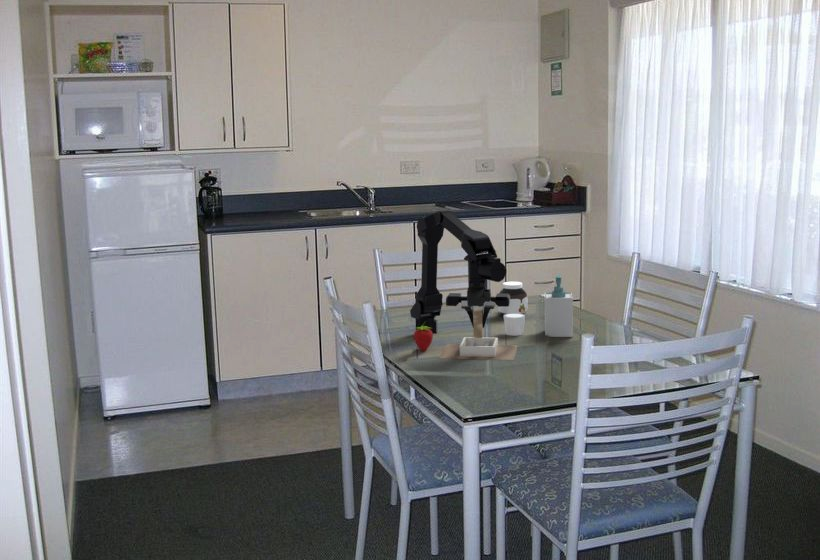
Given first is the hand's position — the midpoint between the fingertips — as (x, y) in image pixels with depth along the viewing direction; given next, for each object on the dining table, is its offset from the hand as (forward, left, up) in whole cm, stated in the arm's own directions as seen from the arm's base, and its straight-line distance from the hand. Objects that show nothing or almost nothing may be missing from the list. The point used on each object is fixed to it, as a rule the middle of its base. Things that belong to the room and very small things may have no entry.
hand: (478, 327), depth 268 cm
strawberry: (-17, +1, -9) cm, 19 cm away
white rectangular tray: (0, 0, -7) cm, 7 cm away
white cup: (+9, +22, -9) cm, 25 cm away
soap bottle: (+23, +26, -9) cm, 36 cm away
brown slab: (0, 0, -8) cm, 8 cm away
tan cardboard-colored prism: (0, 0, -3) cm, 2 cm away
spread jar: (+6, +52, -9) cm, 53 cm away
